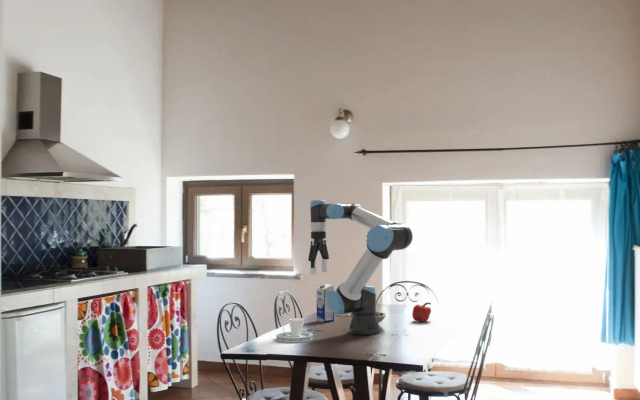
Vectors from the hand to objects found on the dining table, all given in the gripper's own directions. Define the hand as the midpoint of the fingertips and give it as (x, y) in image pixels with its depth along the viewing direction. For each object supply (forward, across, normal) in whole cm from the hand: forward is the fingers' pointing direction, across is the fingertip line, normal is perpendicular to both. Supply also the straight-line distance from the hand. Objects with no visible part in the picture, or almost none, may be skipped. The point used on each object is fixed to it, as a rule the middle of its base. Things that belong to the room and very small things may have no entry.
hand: (319, 273), depth 324 cm
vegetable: (+29, -43, +41) cm, 66 cm away
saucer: (+29, +23, -3) cm, 37 cm away
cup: (+28, +21, -5) cm, 35 cm away
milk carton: (+29, -28, -9) cm, 41 cm away
